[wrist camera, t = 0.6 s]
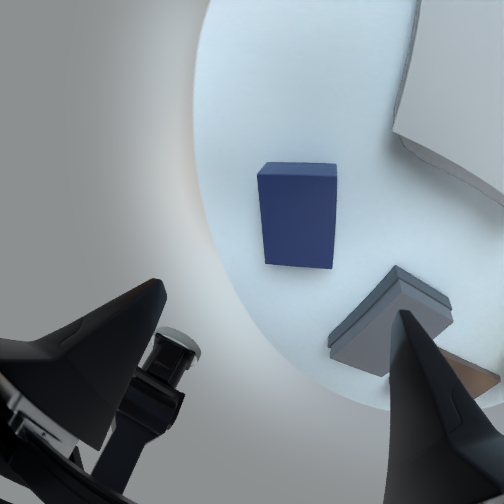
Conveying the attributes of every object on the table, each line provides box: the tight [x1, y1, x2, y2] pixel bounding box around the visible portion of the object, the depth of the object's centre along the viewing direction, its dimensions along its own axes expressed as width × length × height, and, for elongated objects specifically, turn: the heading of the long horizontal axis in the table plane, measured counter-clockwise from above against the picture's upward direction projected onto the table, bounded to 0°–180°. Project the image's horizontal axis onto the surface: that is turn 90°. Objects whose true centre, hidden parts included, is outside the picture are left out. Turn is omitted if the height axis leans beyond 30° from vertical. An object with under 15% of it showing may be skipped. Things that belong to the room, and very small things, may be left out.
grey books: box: [328, 265, 453, 377], centre depth 23 cm, size 11×8×3 cm
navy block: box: [257, 162, 337, 269], centre depth 19 cm, size 7×5×3 cm
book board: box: [389, 348, 501, 399], centre depth 26 cm, size 8×20×1 cm, turn 69°
